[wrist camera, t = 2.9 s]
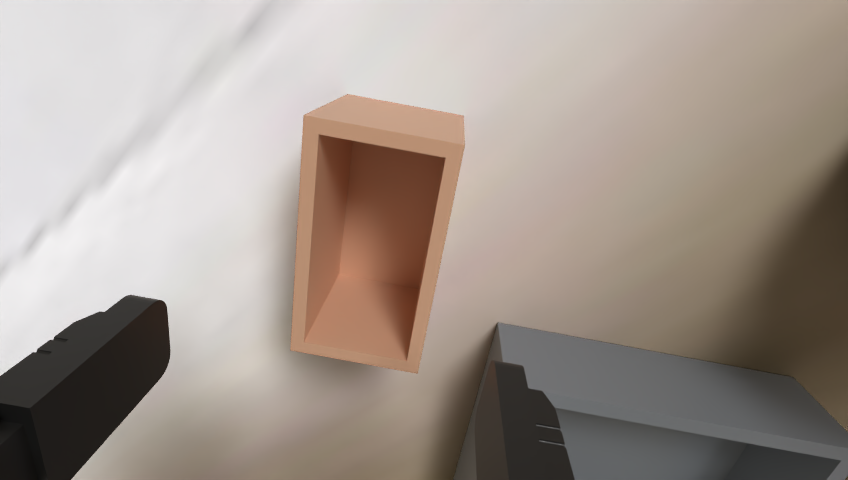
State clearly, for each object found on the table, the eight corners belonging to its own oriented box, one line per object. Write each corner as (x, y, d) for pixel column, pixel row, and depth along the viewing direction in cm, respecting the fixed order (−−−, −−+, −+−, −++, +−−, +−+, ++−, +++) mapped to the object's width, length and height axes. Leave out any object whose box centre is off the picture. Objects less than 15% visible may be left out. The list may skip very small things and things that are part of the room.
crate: (497, 322, 23) (506, 385, 19) (793, 377, 23) (867, 452, 19) (448, 496, 29) (446, 574, 24) (687, 540, 29) (726, 626, 24)
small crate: (348, 93, 19) (303, 115, 14) (463, 115, 19) (465, 144, 14) (330, 276, 23) (290, 350, 17) (427, 294, 23) (417, 373, 17)
